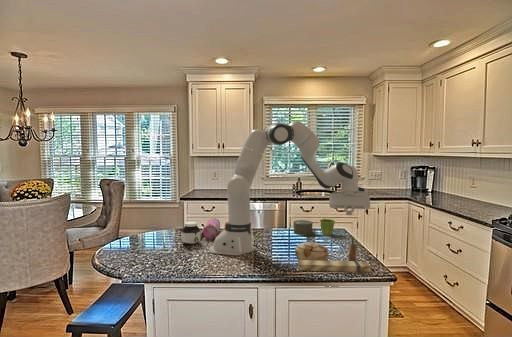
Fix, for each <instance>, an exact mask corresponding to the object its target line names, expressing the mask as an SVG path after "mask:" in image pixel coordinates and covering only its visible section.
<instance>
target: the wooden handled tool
mask: <svg viewBox="0 0 512 337" xmlns="http://www.w3.org/2000/svg"><path fill="white" fill-rule="evenodd" d="M354 238H355V237H354V236H351V242H350V244H349V245H348V261H357V260H356V259H357V245H356V244H355V243H354V242H355V241H354V240H355V239H354Z"/></svg>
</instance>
